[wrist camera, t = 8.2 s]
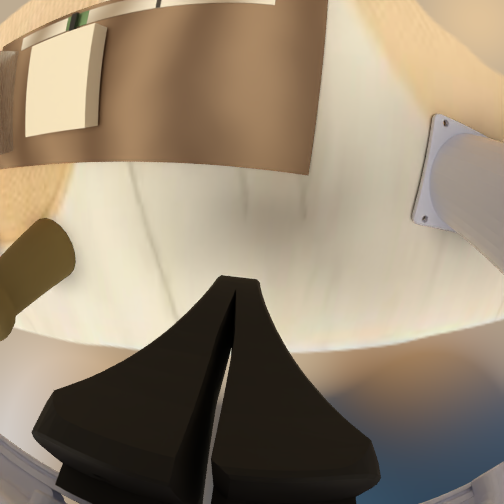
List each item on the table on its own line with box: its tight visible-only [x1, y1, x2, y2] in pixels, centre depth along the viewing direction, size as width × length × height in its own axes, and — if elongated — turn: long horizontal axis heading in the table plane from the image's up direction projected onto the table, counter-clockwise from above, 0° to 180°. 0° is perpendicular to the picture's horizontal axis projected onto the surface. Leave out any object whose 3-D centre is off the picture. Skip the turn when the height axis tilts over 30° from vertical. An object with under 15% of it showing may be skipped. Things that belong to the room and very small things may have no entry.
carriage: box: [25, 12, 107, 137], centre depth 12 cm, size 6×9×2 cm, turn 174°
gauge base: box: [0, 0, 328, 175], centre depth 13 cm, size 26×12×1 cm, turn 84°
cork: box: [0, 218, 75, 341], centre depth 16 cm, size 6×6×11 cm
